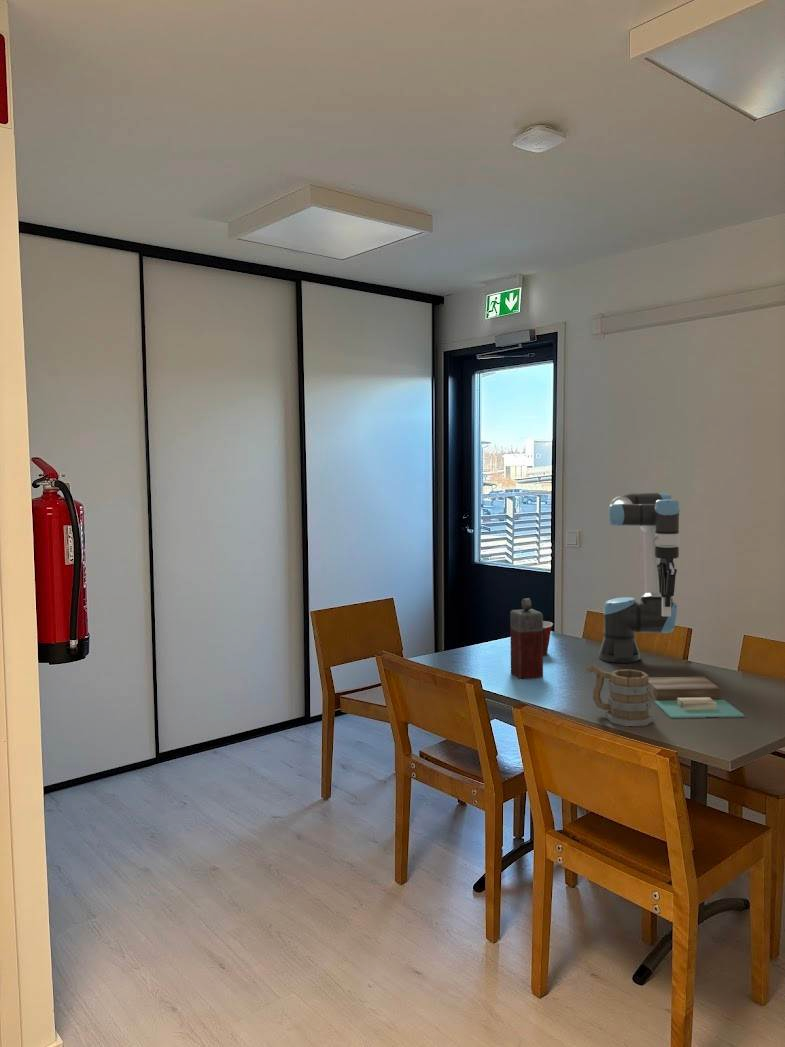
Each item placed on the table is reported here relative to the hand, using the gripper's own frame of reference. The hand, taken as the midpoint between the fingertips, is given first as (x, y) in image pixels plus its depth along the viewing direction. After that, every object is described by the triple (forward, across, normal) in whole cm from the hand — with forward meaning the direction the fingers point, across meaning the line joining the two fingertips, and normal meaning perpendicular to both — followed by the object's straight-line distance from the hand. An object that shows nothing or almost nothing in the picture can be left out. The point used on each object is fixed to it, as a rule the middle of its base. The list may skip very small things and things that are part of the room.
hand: (666, 615), depth 275 cm
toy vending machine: (+25, -18, -43) cm, 53 cm away
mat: (+24, +24, +2) cm, 35 cm away
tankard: (+25, +31, -24) cm, 46 cm away
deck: (+24, +9, +2) cm, 26 cm away
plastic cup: (+25, -51, -34) cm, 66 cm away
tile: (+22, +23, +2) cm, 32 cm away
